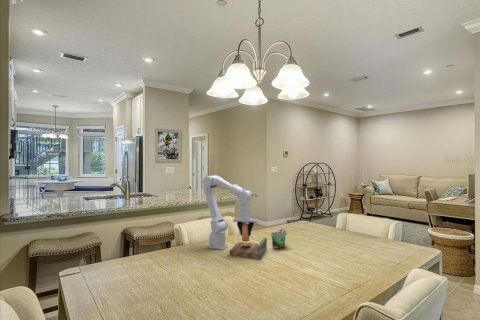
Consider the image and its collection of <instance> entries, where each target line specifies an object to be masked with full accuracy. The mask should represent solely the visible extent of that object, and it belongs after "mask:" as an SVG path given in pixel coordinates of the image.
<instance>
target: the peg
mask: <svg viewBox="0 0 480 320" xmlns="http://www.w3.org/2000/svg"><path fill="white" fill-rule="evenodd" d="M248 224H249V223H243V224H242V235H241V240H242V241H241V242H249V241H250V236H248Z"/></svg>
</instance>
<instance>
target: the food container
mask: <svg viewBox="0 0 480 320" xmlns="http://www.w3.org/2000/svg"><path fill="white" fill-rule="evenodd" d="M287 234H288V233H287V231H286V229H283V228H280V230H277V231H276V232H271V241H272V243H271V244H272V250H284V249H285V248H286V236H287Z"/></svg>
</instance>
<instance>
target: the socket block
mask: <svg viewBox="0 0 480 320" xmlns="http://www.w3.org/2000/svg"><path fill="white" fill-rule="evenodd" d="M267 240H268V238H267V237H263V238H262V240H261V241H259V243H254V242H245V241H238V242H237V243H236V244H235V245H233V247H232V248H230V249H229V257H237V258H243V259H245V258H246V259H255V260H261V259H262V258H263V256H264V255H265V253H266V252H267V250H268V244H267V243H268V242H267Z"/></svg>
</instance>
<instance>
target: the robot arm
mask: <svg viewBox="0 0 480 320" xmlns="http://www.w3.org/2000/svg"><path fill="white" fill-rule="evenodd" d="M202 184H203V193H204V197H205V200H206V203H207V205H208V209H209V212H210V215H211V216H210V217H211V220H210V230H211V232H210V233H209V238H208V240H209V241H208V243H209V245H208V249H214V250H215V249H216V250H225V249H226V247H228V244H226V231H227V229H228V223H227V220H226V219H225V217H224V216H222V215H221V212H220V208H219V205H218V202H217V199H216V196H215V193H214V191H215V189H216V188H217V186H221V187H223V188H225V189H227V190H228V191H229V193H231V194H232V195H233V196H235V197H236V198H238V199H239V201H240V202H239V203H240V217H238V218H237V217H234V218H233V219H232V221H233V222H232V223H236V225H237V228H238V230H239V232H240V236H242V224H248V236H249V237H250V236H251V235H252V230H253V227H254V225H255V224H257V225H258V224H259V219H256V218H255V219H254V218H251V217H252V216H251V209H252V208H251V206H252V205H251V204H252V203H251V199H252V198H253V193H252V191H251V190H249V189H245V188H244V187H243V188H242V187H240V186H239V184H237V183H236V184H231V183H230V182H228V181H226V179H224V178H222V177H221V176H219V175H218V174H214V175H206V176H205V177H204V178H203V180H202Z"/></svg>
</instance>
